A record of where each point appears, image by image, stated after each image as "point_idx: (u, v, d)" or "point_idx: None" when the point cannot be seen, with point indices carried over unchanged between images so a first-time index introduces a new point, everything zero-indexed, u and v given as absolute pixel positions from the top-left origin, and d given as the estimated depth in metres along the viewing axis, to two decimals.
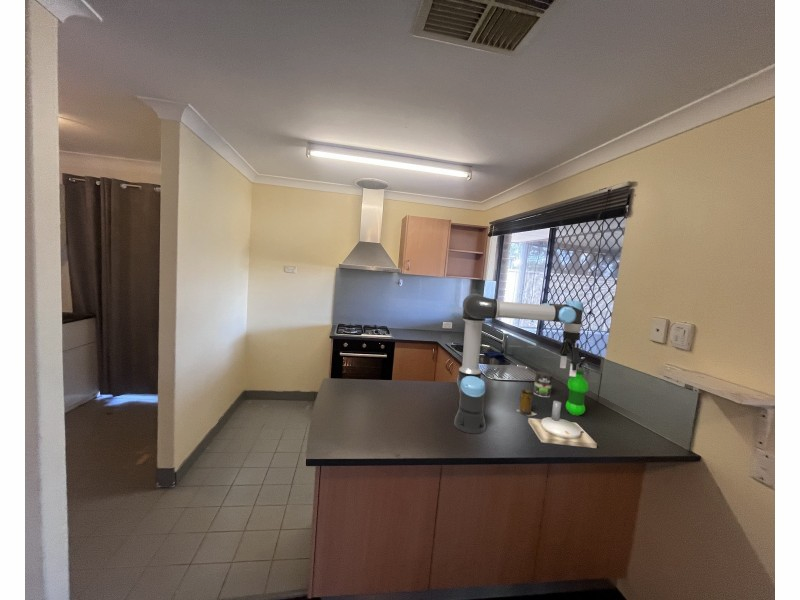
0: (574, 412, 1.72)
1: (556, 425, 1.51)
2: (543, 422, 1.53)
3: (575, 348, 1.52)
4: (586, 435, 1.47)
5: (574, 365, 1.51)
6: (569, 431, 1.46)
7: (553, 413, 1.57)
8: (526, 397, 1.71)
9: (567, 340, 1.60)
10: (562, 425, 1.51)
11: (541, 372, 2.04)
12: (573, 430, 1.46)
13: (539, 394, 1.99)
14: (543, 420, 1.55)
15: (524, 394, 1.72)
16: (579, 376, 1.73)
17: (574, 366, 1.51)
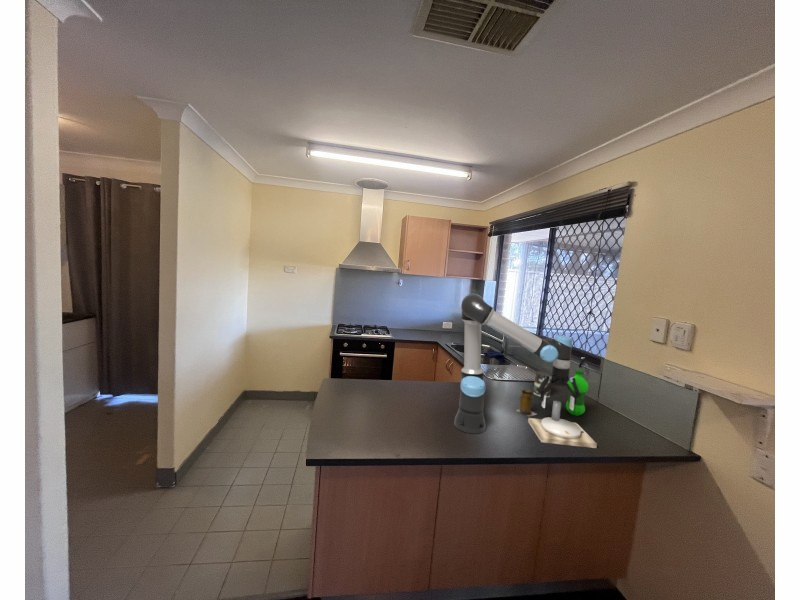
0: (574, 412, 1.72)
1: (556, 425, 1.51)
2: (543, 422, 1.53)
3: (545, 379, 1.57)
4: (586, 435, 1.47)
5: None
6: (569, 431, 1.46)
7: (553, 413, 1.57)
8: (526, 397, 1.71)
9: None
10: (562, 425, 1.51)
11: (541, 372, 2.04)
12: (573, 430, 1.46)
13: (539, 394, 1.99)
14: (543, 420, 1.55)
15: (524, 394, 1.72)
16: (579, 376, 1.73)
17: (540, 396, 1.57)
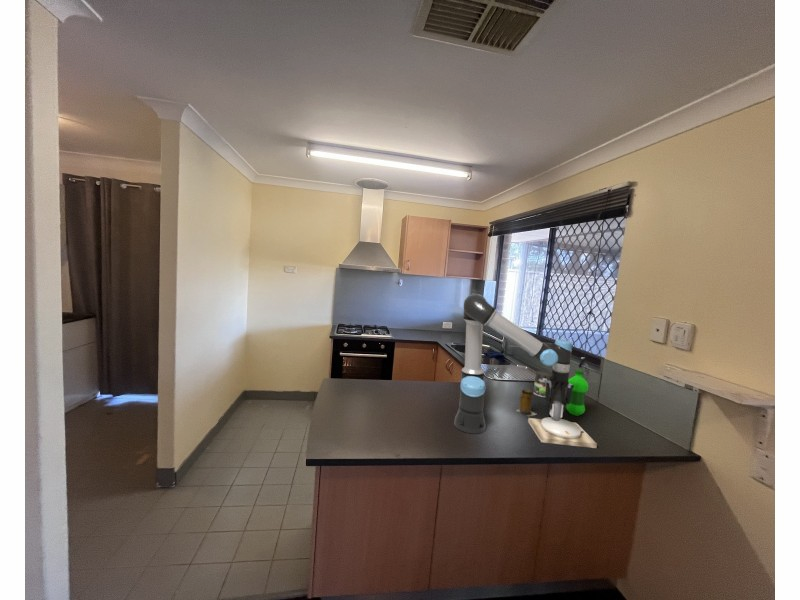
0: (574, 412, 1.72)
1: (556, 425, 1.51)
2: (543, 422, 1.53)
3: (546, 386, 1.57)
4: (586, 435, 1.47)
5: (549, 403, 1.57)
6: (569, 431, 1.46)
7: None
8: (526, 397, 1.71)
9: None
10: (562, 425, 1.51)
11: (541, 372, 2.04)
12: (573, 430, 1.46)
13: (539, 394, 1.99)
14: (543, 420, 1.55)
15: (524, 394, 1.72)
16: (579, 376, 1.73)
17: (549, 404, 1.57)
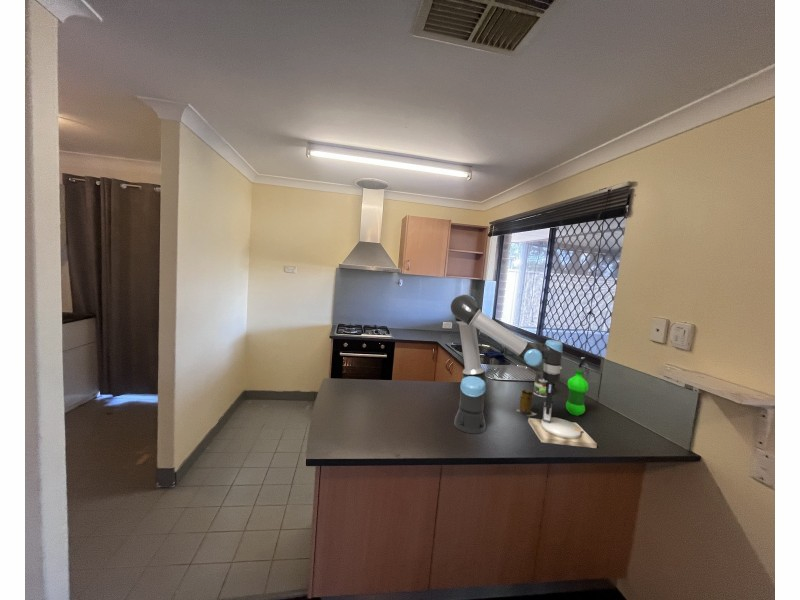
0: (574, 412, 1.72)
1: (560, 427, 1.49)
2: (554, 430, 1.46)
3: (548, 393, 1.48)
4: (586, 435, 1.47)
5: (547, 409, 1.51)
6: (574, 428, 1.49)
7: None
8: (526, 397, 1.71)
9: None
10: (560, 424, 1.52)
11: (541, 372, 2.04)
12: (572, 425, 1.52)
13: (539, 394, 1.99)
14: (549, 427, 1.48)
15: (524, 394, 1.72)
16: (579, 376, 1.73)
17: (547, 410, 1.51)
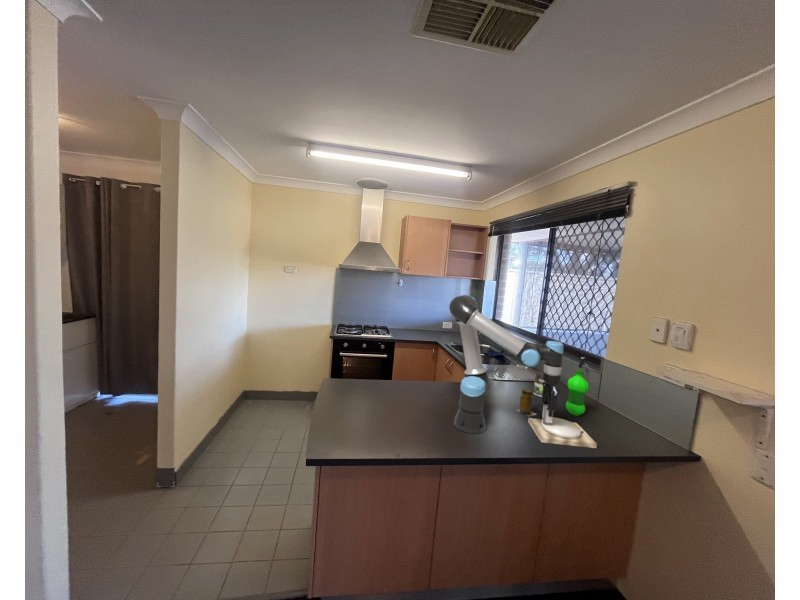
0: (574, 412, 1.72)
1: (563, 427, 1.49)
2: (563, 432, 1.44)
3: (554, 395, 1.45)
4: (586, 435, 1.47)
5: (550, 412, 1.48)
6: (571, 425, 1.52)
7: None
8: (526, 397, 1.71)
9: None
10: (559, 424, 1.52)
11: (541, 372, 2.04)
12: (567, 423, 1.54)
13: (539, 394, 1.99)
14: (557, 431, 1.45)
15: (524, 394, 1.72)
16: (579, 376, 1.73)
17: (550, 413, 1.48)
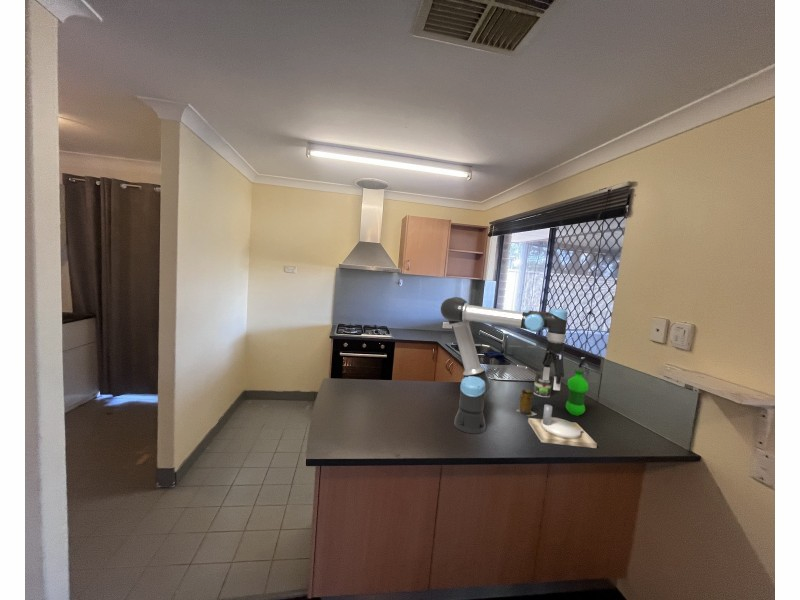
0: (574, 412, 1.72)
1: (563, 427, 1.49)
2: (563, 432, 1.44)
3: (559, 360, 1.42)
4: (586, 435, 1.47)
5: (558, 378, 1.41)
6: (571, 425, 1.52)
7: (549, 418, 1.50)
8: (526, 397, 1.71)
9: (550, 351, 1.50)
10: (559, 424, 1.52)
11: (541, 372, 2.04)
12: (567, 422, 1.54)
13: (539, 394, 1.99)
14: (557, 431, 1.45)
15: (524, 394, 1.72)
16: (579, 376, 1.73)
17: (558, 379, 1.41)
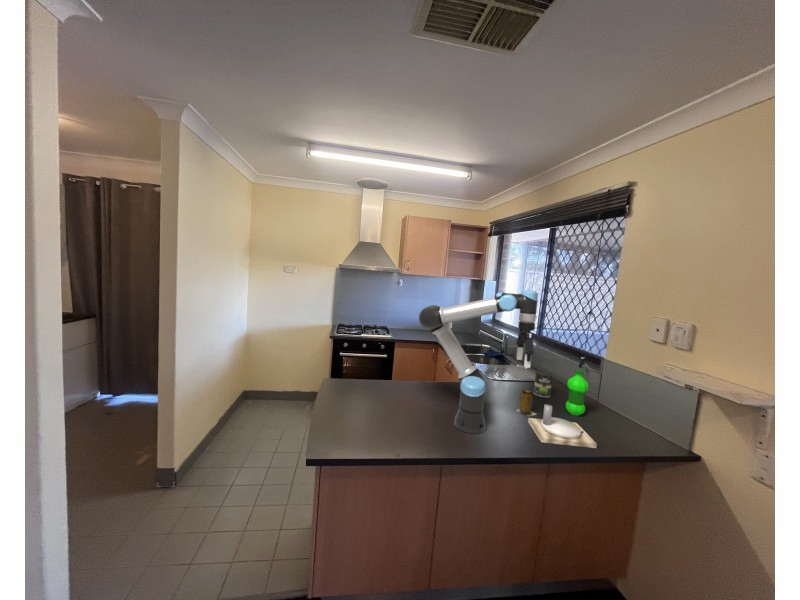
0: (574, 412, 1.72)
1: (563, 427, 1.49)
2: (563, 432, 1.44)
3: (529, 338, 1.49)
4: (586, 435, 1.47)
5: (528, 356, 1.48)
6: (571, 425, 1.52)
7: (549, 418, 1.50)
8: (526, 397, 1.71)
9: (522, 331, 1.57)
10: (559, 424, 1.52)
11: (541, 372, 2.04)
12: (567, 422, 1.54)
13: (539, 394, 1.99)
14: (557, 431, 1.45)
15: (524, 394, 1.72)
16: (579, 376, 1.73)
17: (528, 357, 1.48)
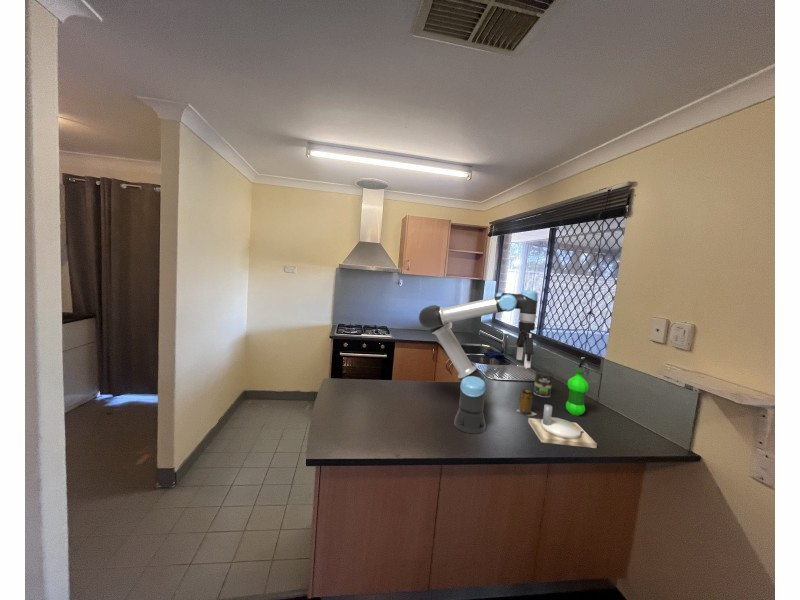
0: (574, 412, 1.72)
1: (563, 427, 1.49)
2: (563, 432, 1.44)
3: (529, 338, 1.49)
4: (586, 435, 1.47)
5: (528, 356, 1.48)
6: (571, 425, 1.52)
7: (549, 418, 1.50)
8: (526, 397, 1.71)
9: (522, 331, 1.57)
10: (559, 424, 1.52)
11: (541, 372, 2.04)
12: (567, 422, 1.54)
13: (539, 394, 1.99)
14: (557, 431, 1.45)
15: (524, 394, 1.72)
16: (579, 376, 1.73)
17: (528, 357, 1.48)
